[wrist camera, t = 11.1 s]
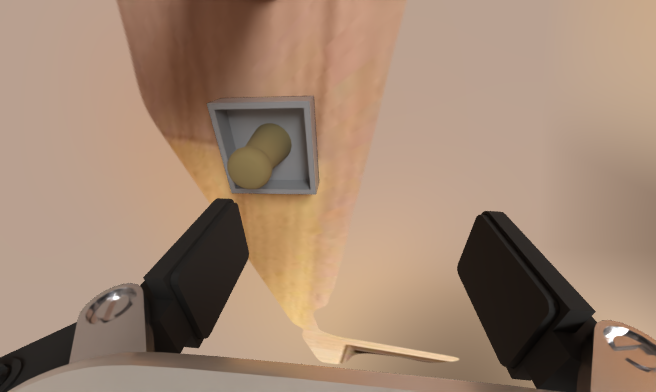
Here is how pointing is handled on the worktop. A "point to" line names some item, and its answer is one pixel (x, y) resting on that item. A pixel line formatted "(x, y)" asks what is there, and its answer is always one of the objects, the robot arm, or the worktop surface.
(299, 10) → the worktop surface
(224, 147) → the box
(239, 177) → the cork
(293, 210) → the worktop surface
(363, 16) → the worktop surface
